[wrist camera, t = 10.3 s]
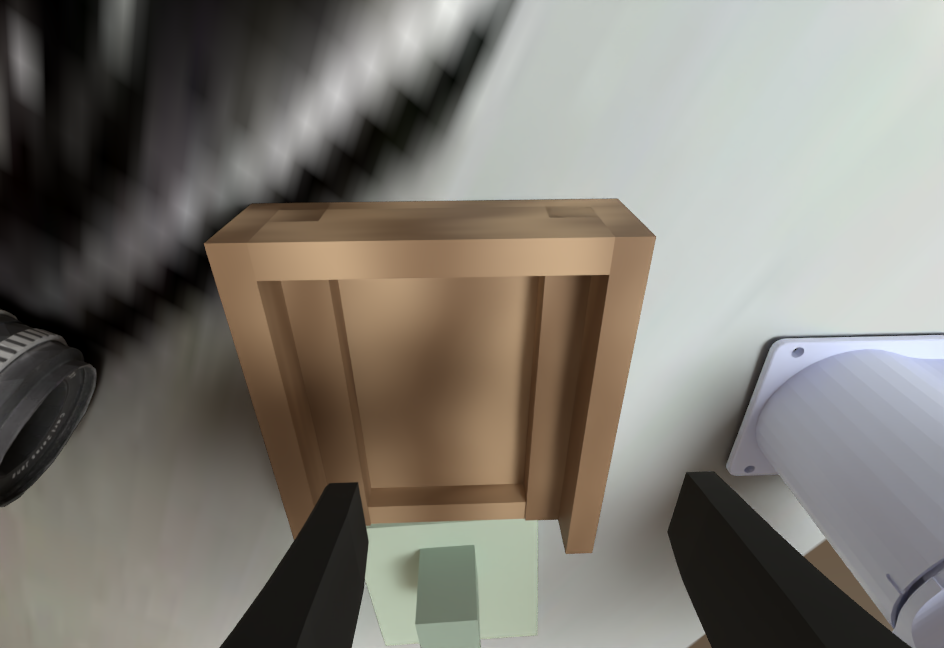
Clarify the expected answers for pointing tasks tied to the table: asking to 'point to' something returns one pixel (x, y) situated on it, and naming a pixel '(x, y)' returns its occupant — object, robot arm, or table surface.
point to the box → (438, 352)
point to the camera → (37, 401)
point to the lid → (453, 581)
